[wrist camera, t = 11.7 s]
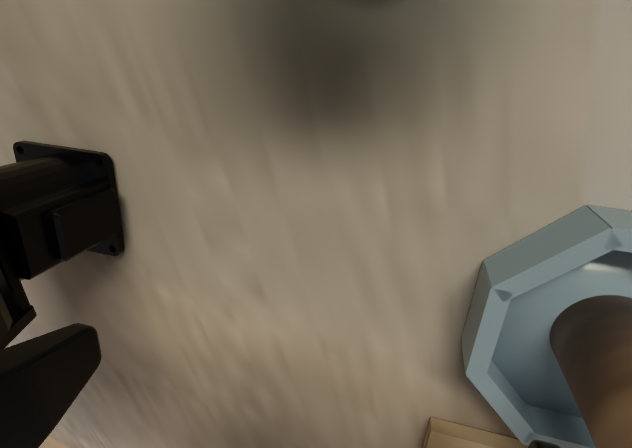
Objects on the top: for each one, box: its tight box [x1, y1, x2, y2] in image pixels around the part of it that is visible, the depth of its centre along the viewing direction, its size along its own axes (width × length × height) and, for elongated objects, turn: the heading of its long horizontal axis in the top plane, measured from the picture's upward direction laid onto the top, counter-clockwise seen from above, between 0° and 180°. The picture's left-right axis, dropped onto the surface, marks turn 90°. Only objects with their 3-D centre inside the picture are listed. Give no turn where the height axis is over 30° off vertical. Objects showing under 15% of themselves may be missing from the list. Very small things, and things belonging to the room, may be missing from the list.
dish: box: [461, 205, 632, 448], centre depth 18 cm, size 12×12×3 cm
